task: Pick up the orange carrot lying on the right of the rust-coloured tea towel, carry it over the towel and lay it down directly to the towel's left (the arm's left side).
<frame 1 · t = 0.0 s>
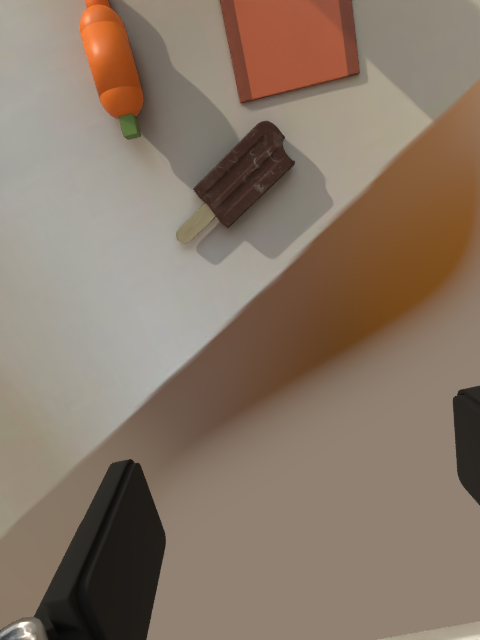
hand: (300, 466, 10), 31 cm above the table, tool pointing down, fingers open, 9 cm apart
ice cream bar: (229, 191, 38), on the table
carrot: (119, 74, 34), on the table
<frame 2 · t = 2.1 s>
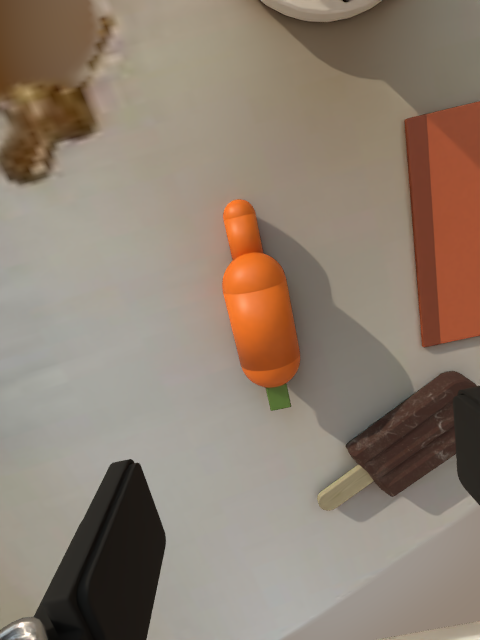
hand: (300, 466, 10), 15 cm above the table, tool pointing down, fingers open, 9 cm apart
ice cream bar: (390, 443, 28), on the table
carrot: (259, 313, 25), on the table
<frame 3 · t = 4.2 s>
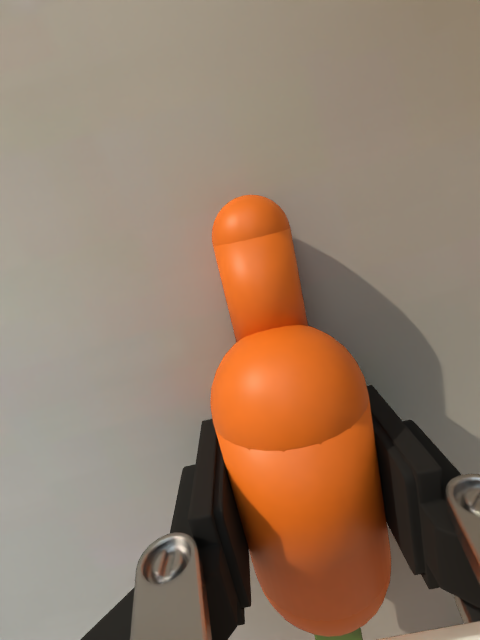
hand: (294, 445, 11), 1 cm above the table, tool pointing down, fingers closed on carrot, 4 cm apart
carrot: (292, 436, 12), on the table, touching gripper
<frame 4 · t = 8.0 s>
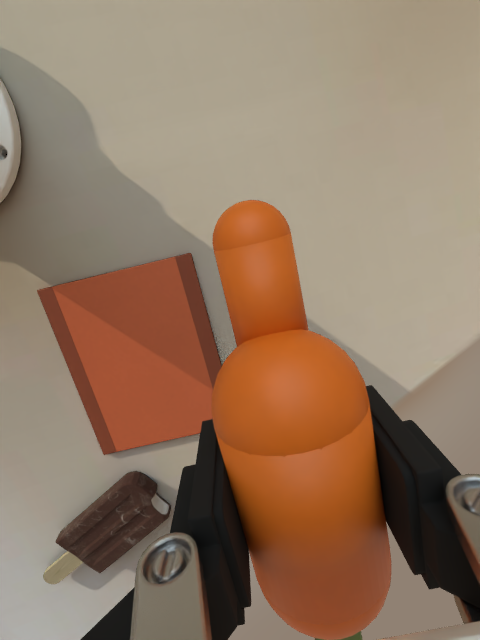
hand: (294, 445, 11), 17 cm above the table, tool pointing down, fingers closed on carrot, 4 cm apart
ice cream bar: (103, 526, 33), on the table
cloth: (144, 360, 29), on the table
carrot: (292, 439, 12), point 17 cm above the table, touching gripper
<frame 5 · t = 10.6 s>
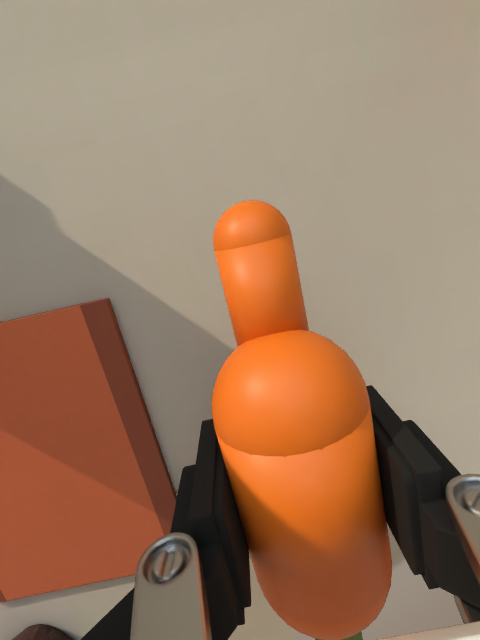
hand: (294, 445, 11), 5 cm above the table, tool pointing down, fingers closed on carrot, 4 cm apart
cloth: (41, 468, 17), on the table
carrot: (293, 439, 12), point 5 cm above the table, touching gripper
when the fingers open (0 cm above the table, at t = 12.1 s): carrot stays where it is, on the table.
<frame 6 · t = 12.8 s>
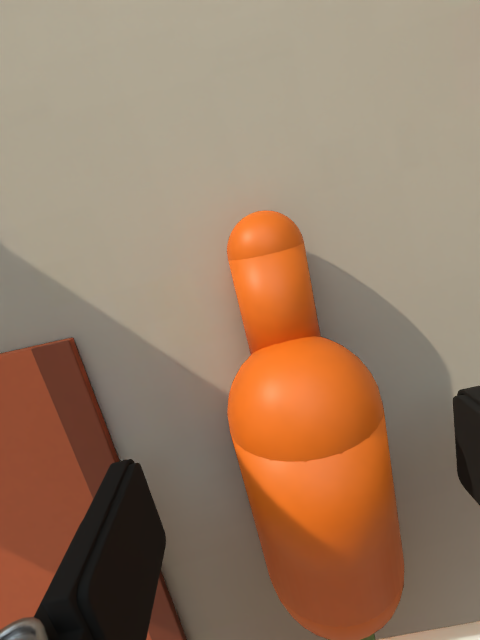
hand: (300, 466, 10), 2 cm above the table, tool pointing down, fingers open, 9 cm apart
carrot: (302, 443, 12), on the table
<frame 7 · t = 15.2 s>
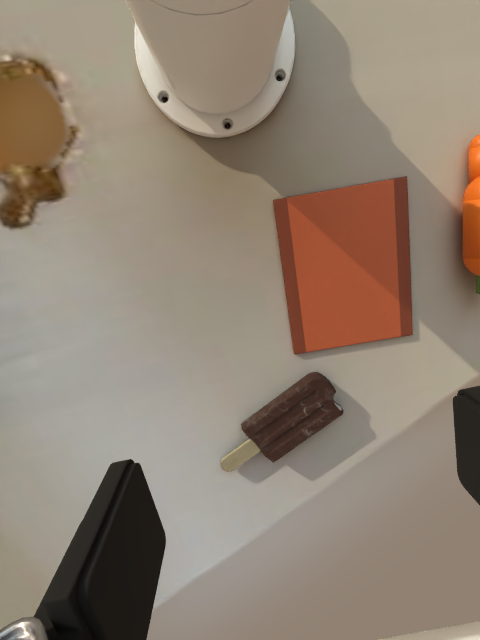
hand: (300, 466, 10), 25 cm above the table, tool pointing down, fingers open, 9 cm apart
ice cream bar: (275, 423, 38), on the table
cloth: (346, 270, 34), on the table
carrot: (473, 225, 33), on the table
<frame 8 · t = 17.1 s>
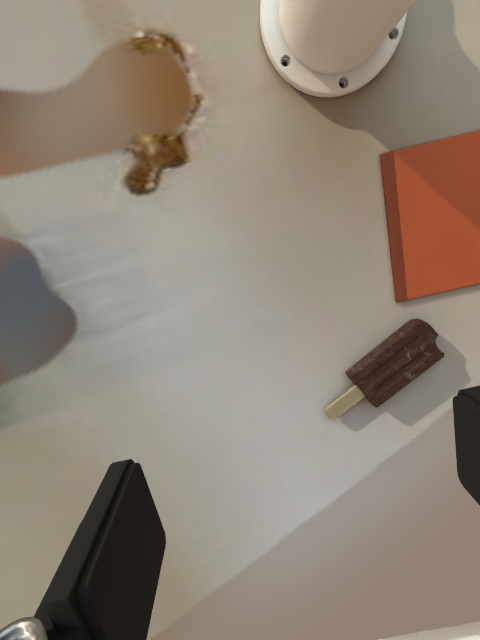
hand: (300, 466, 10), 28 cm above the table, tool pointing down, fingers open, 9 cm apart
ice cream bar: (375, 371, 41), on the table
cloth: (446, 218, 36), on the table
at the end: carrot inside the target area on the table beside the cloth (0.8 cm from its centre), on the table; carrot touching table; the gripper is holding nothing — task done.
